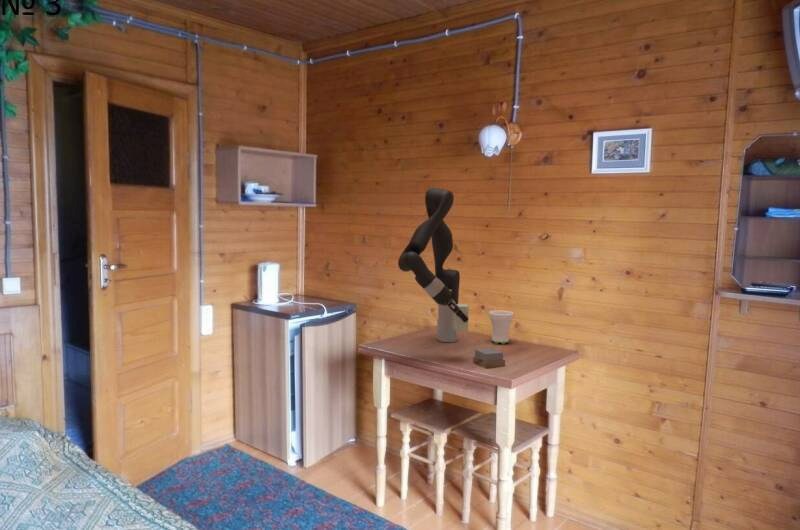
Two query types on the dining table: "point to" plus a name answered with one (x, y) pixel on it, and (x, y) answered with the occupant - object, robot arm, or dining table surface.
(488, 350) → the charcoal slab
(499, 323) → the cup
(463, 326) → the sage pillar
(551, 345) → the dining table surface
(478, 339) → the dining table surface
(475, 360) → the walnut slab
